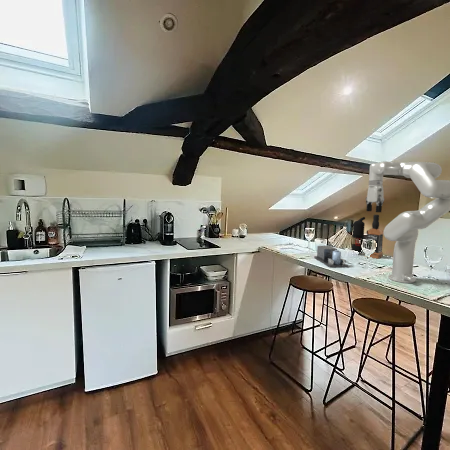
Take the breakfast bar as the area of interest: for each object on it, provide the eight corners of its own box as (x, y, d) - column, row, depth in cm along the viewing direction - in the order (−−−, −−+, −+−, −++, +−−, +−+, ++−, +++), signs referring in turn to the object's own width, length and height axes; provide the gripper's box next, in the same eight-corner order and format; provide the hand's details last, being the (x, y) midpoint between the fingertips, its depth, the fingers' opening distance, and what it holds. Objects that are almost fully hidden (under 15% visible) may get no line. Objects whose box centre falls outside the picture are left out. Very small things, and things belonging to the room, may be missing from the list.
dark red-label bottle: (367, 255, 213) (370, 216, 209) (357, 256, 210) (360, 217, 207) (354, 251, 226) (356, 215, 222) (345, 252, 223) (347, 215, 220)
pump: (341, 264, 179) (342, 251, 178) (334, 264, 178) (334, 251, 177) (338, 262, 184) (338, 249, 183) (330, 262, 183) (331, 249, 182)
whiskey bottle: (369, 254, 216) (371, 214, 212) (382, 256, 209) (386, 214, 205) (363, 256, 209) (366, 214, 205) (377, 259, 202) (381, 215, 198)
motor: (348, 267, 178) (348, 253, 177) (329, 267, 177) (330, 253, 176) (328, 257, 206) (329, 244, 205) (312, 257, 206) (313, 244, 205)
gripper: (390, 183, 160) (388, 212, 162) (373, 184, 177) (371, 210, 179) (378, 183, 160) (376, 212, 161) (361, 184, 177) (360, 210, 179)
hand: (373, 211), depth 170 cm, fingers open, 9 cm apart
